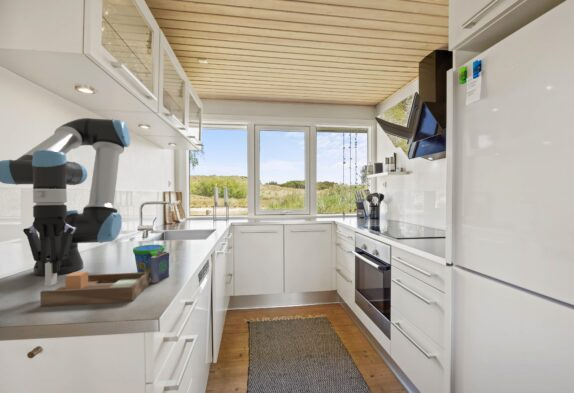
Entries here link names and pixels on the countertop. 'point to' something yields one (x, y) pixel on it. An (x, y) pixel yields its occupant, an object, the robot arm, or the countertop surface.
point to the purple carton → (159, 266)
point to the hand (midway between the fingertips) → (51, 284)
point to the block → (76, 280)
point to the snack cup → (145, 256)
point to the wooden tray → (99, 290)
